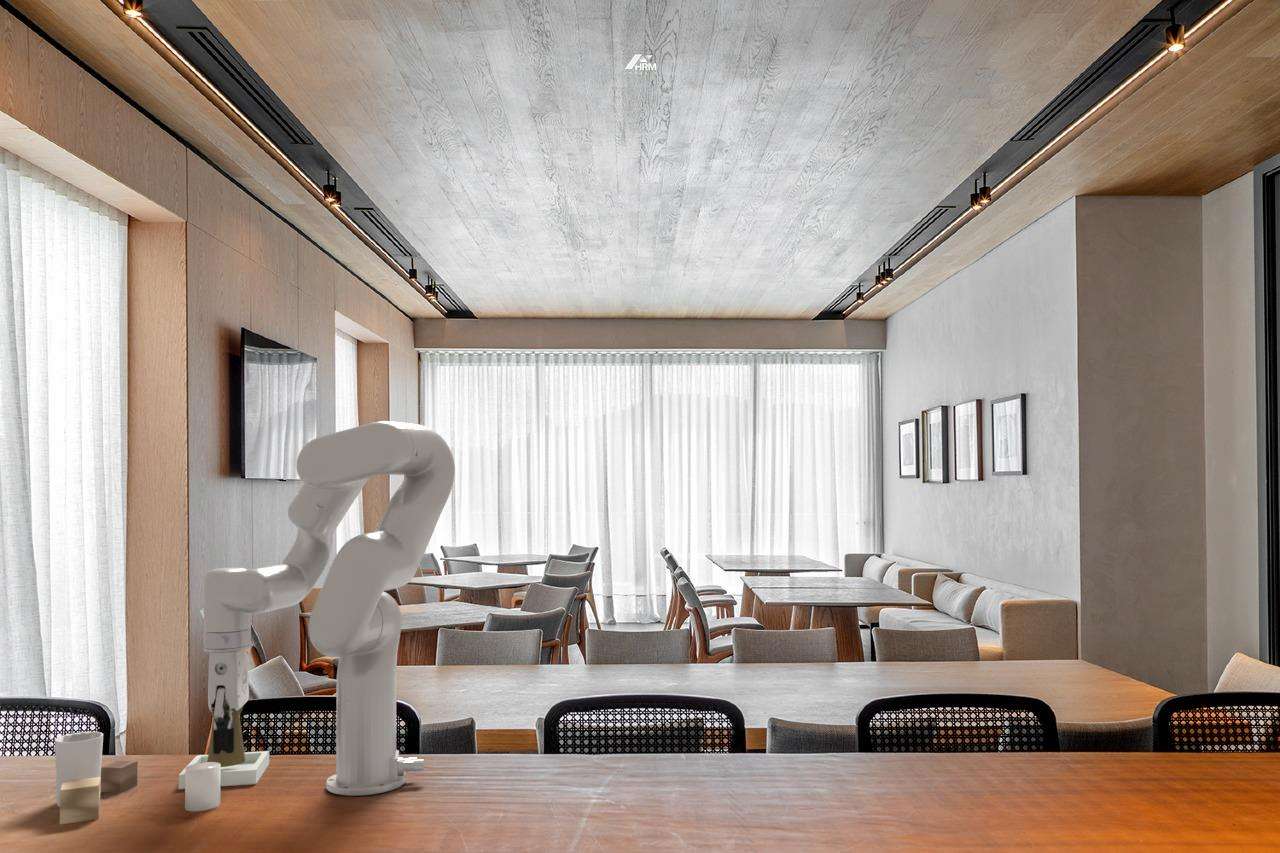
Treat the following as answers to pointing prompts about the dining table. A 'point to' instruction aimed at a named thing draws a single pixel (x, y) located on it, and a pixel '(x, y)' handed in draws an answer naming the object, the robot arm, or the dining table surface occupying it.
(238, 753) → the olive rounded tall piece
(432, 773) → the dining table surface
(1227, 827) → the dining table surface
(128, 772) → the walnut block
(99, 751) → the drinking glass
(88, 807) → the oak block
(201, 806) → the white rounded cylinder
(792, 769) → the dining table surface
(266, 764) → the tray
